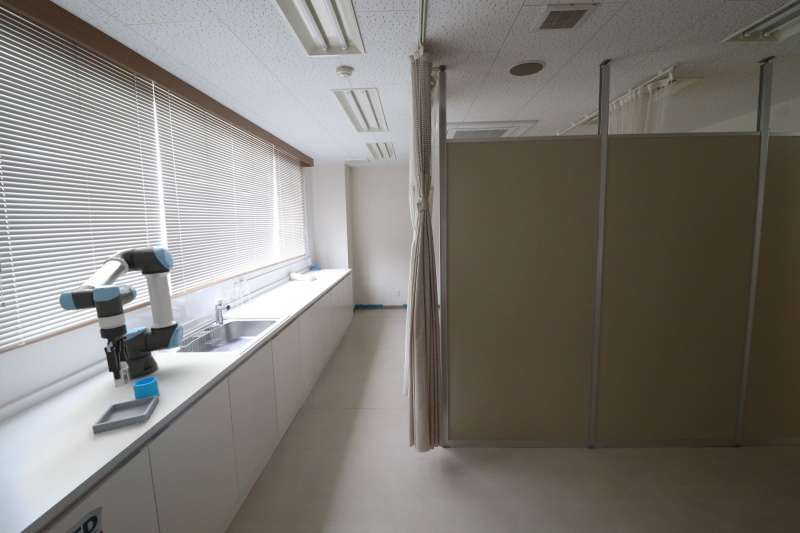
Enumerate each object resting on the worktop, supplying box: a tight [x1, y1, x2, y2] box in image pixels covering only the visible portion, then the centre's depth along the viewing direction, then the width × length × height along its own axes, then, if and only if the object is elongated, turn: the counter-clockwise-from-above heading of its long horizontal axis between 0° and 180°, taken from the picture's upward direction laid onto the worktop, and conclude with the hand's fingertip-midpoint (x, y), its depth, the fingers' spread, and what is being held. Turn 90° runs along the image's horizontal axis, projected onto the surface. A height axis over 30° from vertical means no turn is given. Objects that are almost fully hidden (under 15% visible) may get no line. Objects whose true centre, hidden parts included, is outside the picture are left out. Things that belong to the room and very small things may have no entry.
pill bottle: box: [120, 361, 132, 386], centre depth 126 cm, size 5×5×8 cm
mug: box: [132, 376, 160, 400], centre depth 142 cm, size 12×8×8 cm
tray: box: [92, 395, 160, 435], centre depth 128 cm, size 16×16×3 cm
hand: (123, 382), depth 126 cm, fingers closed on pill bottle, 5 cm apart
